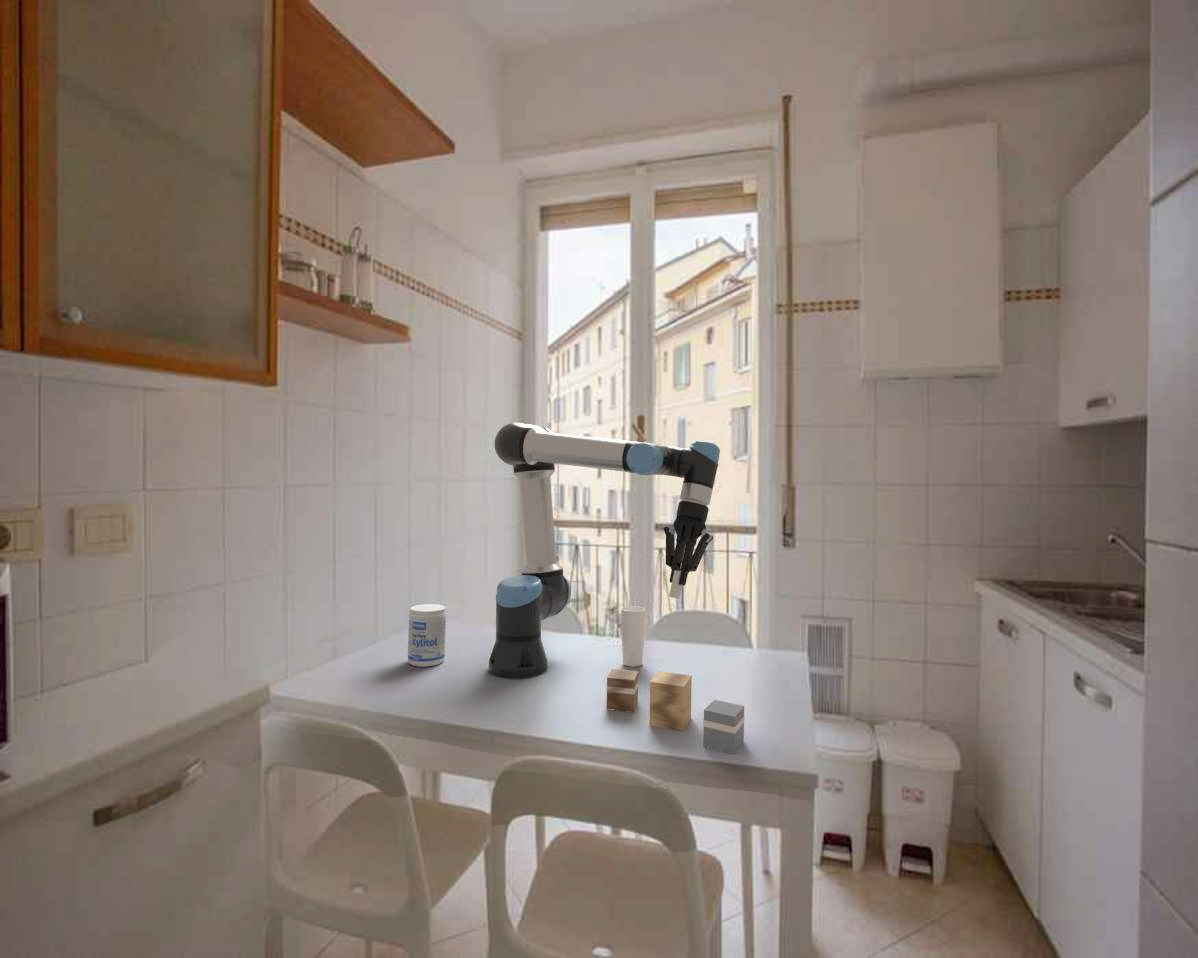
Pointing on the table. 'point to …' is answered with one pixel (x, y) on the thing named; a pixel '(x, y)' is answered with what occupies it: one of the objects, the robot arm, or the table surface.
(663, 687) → the oak block
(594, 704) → the table surface
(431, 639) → the supplement tub
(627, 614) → the drinking glass
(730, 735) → the grey block
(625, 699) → the walnut block
